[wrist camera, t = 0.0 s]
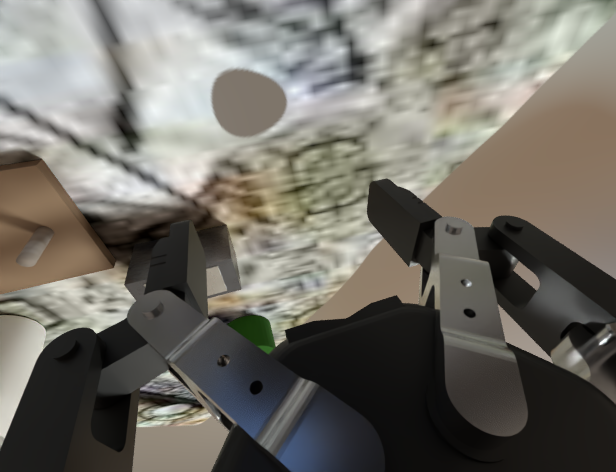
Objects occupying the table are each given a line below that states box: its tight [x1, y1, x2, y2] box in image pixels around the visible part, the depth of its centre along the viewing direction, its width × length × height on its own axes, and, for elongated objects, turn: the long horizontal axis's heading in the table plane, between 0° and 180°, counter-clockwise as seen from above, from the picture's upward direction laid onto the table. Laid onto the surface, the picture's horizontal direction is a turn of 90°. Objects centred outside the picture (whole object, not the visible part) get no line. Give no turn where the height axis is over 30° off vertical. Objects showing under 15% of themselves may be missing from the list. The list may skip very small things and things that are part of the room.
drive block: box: [124, 225, 241, 301], centre depth 30 cm, size 5×10×6 cm, turn 93°
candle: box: [227, 315, 276, 354], centre depth 43 cm, size 8×8×10 cm
